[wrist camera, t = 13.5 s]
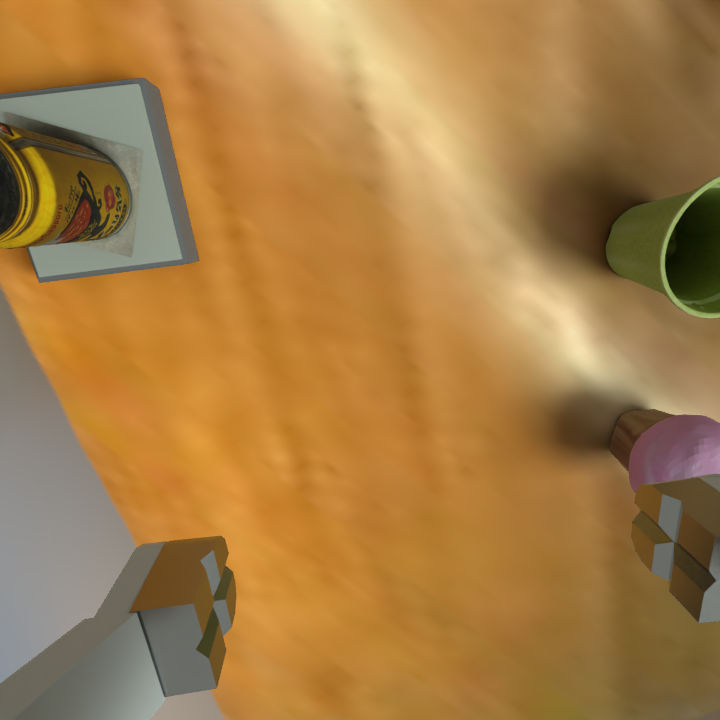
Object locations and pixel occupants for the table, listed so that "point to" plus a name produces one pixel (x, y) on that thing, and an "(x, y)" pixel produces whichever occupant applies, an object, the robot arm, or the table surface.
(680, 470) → the cupcake
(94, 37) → the table surface
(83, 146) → the condiment
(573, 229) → the table surface
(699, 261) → the plant pot
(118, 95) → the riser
